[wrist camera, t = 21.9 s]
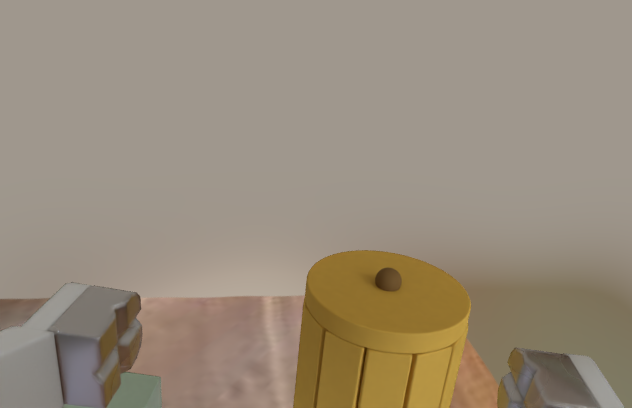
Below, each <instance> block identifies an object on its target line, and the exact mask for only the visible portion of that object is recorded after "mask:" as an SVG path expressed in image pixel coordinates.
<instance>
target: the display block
mask: <svg viewBox="0 0 632 408" xmlns="http://www.w3.org/2000/svg"><path fill="white" fill-rule="evenodd" d="M120 377H121V385H120V387H119V388H118V390H117V392H116V393H115V395H114V396H113V398H112V400H111V401H110V403H109V404H108V406H107V408H162V398H161V377H158V376H151V375H144V374H137V373H130V372H124V373H122V374H120ZM62 408H93V407H84V406H76V405H68V404H64V407H62Z"/></svg>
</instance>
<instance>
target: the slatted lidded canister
mask: <svg viewBox="0 0 632 408" xmlns="http://www.w3.org/2000/svg"><path fill="white" fill-rule="evenodd" d="M470 309H471V303H470V299H469V296H468V294H467V292H466V290H465V289H464V288H463V287H462V285H461V284H460V283H459V282H458V281H457V280H456V279H454V278H453V277H452V276H450V275H449V274H447V273H446V272H444V271H443V270H441V269H439V268H437V267H435V266H433V265H430V264H428V263H426V262H423V261H421V260H418V259H415V258H411V257H408V256H404V255H400V254H395V253H389V252H382V251H368V250H364V251H363V250H362V251H348V252H341V253H337V254H333V255H330V256H328V257H325V258H323V259H321V260H320V261H318V262H317V263H316V264H315V265H314V266H313V267H312V268H311V269H310V271H309V273H308V276H307V282H306V292H305V299H304V304H303V314H302V324H301V334H300V344H299V354H298V365H297V375H296V385H295V395H294V405H293V408H450V403H451V399H452V395H453V391H454V387H455V382H456V378H457V374H458V370H459V366H460V361H461V357H462V353H463V349H464V345H465V340H466V336H467V332H468V318H469V314H470Z"/></svg>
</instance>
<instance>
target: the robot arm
mask: <svg viewBox="0 0 632 408" xmlns="http://www.w3.org/2000/svg"><path fill="white" fill-rule="evenodd" d="M140 310H141V300H140V296H139V295H138V294H137V293H136V292H130V291H124V290H118V289H112V288H106V287H100V286H91V285H87V284H80V283H73V282H71V283H67V284H65V285H63V286H62V287H61V288H60V289H59V290H58V291H57V292H56V293H55V294H54V295H53V296H52V297H51V298H50V299H49V300H48V301H47V302H46V303H45V304H44V305H43V306H42V307H41V308H40V309H39V310H38V311H36V312H35V313H34V314H33V315H32V316H31V317H30V318H29V319H28V320H27V321H26V322H25V323H24V324H23V325H22V326H21V327H16V326H12V327H10V328H7V329H4V330H2V331H0V408H62V407H64V404H68V405H76V406H84V407H93V408H107V406H108V404H109V403H110V401H111V400H112V398H113V396H114V395H115V393H116V392H117V390H118V388H119V387H120V385H121V377H120V374H122V373H124V372H126V371H127V370H129V369H131V367H132V366H133V364H134V362H135V360H136V359H137V356H138V353H139V350H140V347H141V341H142V325H141V324H140V322H139V321H138V320H137V318H136V316H137V314H138V313H139V312H140ZM508 364H509V367H510V369H511V372H510V373H508V374H507V375H506V376H504V377H503V378H502V379H501V382H500V386H499V389H498V399H497V405H498V408H624V406H623V405H622V403H621V402H620V400H619V398H618V397H617V395H616V394H615V392H614V391H613V389H612V388H611V386H610V385H609V383H608V382H607V380H606V379H605V377H604V375H603V374H602V373H601V371H600V369H599V368H598V366H597V365H596V363H595V362H594V360H593V359H591V358H590V357H588V356H582V355H574V354H564V353H563V354H558V353H552V352H544V351H537V350H530V349H523V348H514V350H513V351H512V352H511V354H510V357H509V359H508Z"/></svg>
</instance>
